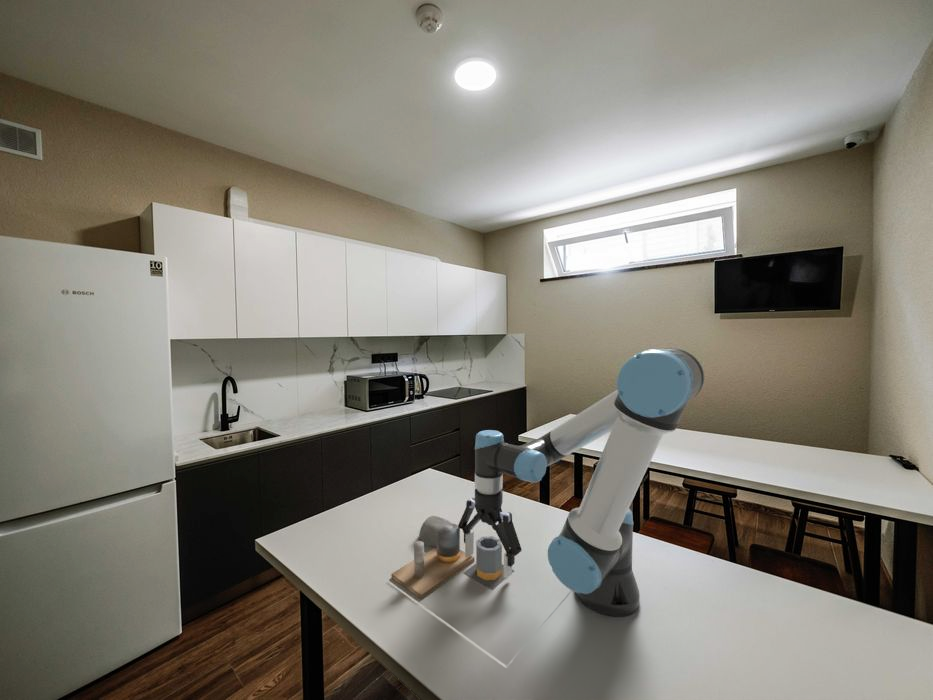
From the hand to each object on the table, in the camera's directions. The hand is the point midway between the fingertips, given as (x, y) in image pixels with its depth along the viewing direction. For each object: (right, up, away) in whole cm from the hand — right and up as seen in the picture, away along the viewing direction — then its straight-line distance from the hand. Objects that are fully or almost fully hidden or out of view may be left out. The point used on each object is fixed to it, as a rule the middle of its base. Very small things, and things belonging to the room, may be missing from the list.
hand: (487, 565), depth 100 cm
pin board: (-15, -2, +1) cm, 15 cm away
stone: (-15, -2, +16) cm, 22 cm away
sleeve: (0, -2, 0) cm, 2 cm away
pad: (0, -2, 0) cm, 2 cm away
